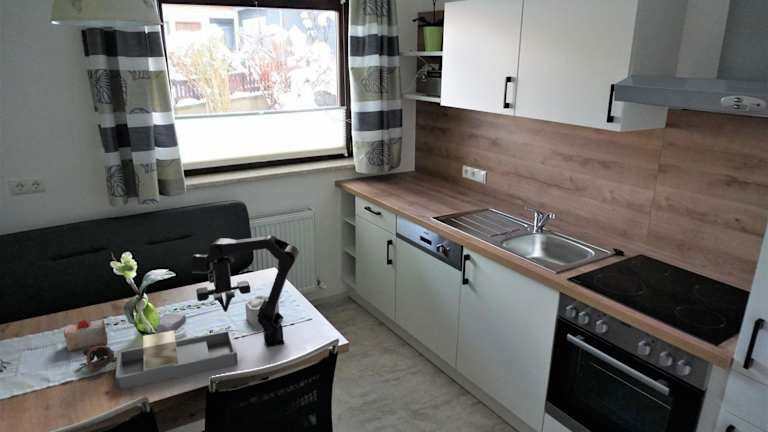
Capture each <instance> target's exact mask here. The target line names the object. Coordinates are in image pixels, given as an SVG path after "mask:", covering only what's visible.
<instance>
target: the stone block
mask: <svg viewBox="0 0 768 432" xmlns="http://www.w3.org/2000/svg"><path fill="white" fill-rule="evenodd" d="M159 318H160V323H159V324H157V331H156V332H157V333H163V332H168V331H173V330H174V331H177V330H178V329H179V328H180V327H181V326H182V325H183V324H184V323H186V321H187V317H186V314H182V313H178V312H170V313H166V314H163V315H162V316H160V317H159ZM157 333H156V334H157Z"/></svg>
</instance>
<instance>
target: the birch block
mask: <svg viewBox="0 0 768 432" xmlns="http://www.w3.org/2000/svg"><path fill="white" fill-rule="evenodd" d="M175 331H176V330H175ZM175 331H174V330H173V331H168V332H163V333H153V334H147V335H143V336H142V347H143V351H144V358H145V364H146V369H147V368H151V367H156V366H161V365H166V364H171V363H176V362H178V356H177V347H176V340H177V339H176V333H175Z"/></svg>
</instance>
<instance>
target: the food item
mask: <svg viewBox="0 0 768 432" xmlns="http://www.w3.org/2000/svg"><path fill="white" fill-rule="evenodd" d="M63 336H64V339H65V341H64V342H65V345H66V348H67V350H68V351H69V353H70V352H71V353H72V352H74V351H78V350H79V351H80V350H83V349H84V348H86V347H87V348H92V347H93V348H94V347H96V346H104V345H106V344H108V342H109V341H108V334H107V330H106V324H105V320H104V319H102V320H101V319H99V320H95V321H89V320H86V319H85V318H83V319H82V320H80V321H79V322H77V324H73V325H70V326H67V327H66V328H65V329H64V330H63Z"/></svg>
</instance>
